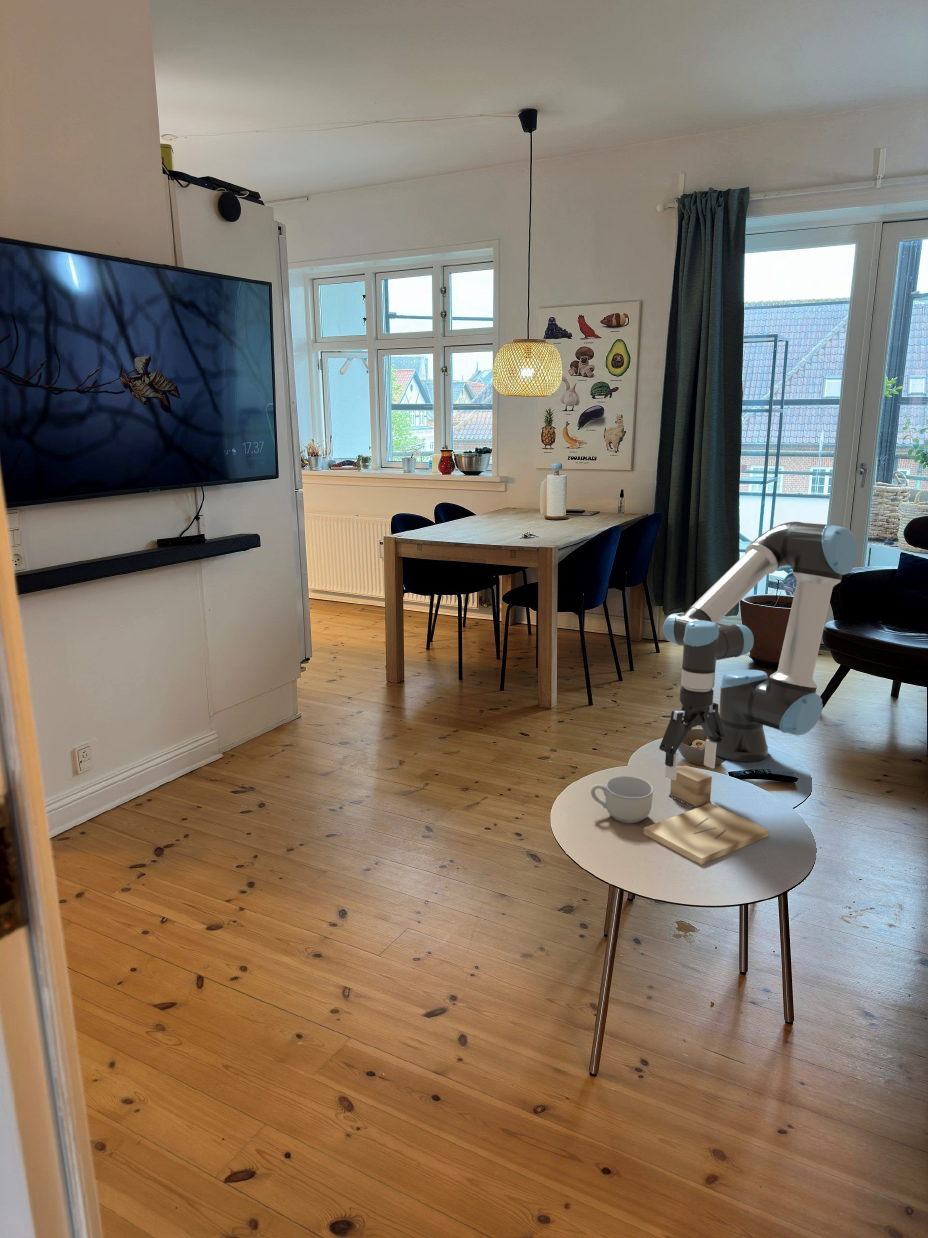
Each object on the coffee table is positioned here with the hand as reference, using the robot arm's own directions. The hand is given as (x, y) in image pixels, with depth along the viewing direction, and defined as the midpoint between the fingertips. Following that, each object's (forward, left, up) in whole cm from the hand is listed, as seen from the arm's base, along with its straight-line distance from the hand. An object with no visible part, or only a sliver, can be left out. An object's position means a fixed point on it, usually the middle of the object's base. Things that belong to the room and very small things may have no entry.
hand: (690, 772), depth 194 cm
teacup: (+20, -3, -7) cm, 21 cm away
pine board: (+11, +14, -7) cm, 19 cm away
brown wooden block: (0, 0, -7) cm, 7 cm away
